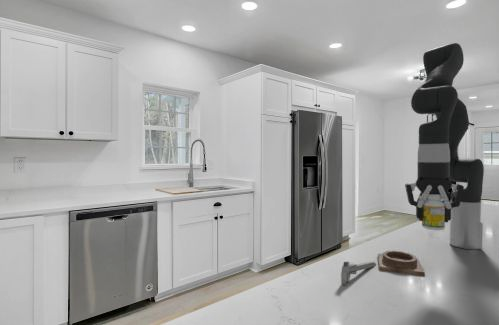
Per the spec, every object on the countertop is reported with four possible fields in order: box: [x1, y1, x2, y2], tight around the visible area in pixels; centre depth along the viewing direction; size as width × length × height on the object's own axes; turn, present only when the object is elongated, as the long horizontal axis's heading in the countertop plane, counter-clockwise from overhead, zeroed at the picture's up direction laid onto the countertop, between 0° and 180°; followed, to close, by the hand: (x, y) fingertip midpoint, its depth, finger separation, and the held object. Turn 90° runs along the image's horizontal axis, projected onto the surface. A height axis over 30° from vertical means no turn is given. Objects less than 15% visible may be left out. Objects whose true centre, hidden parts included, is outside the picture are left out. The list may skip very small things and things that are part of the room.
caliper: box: [340, 260, 377, 286], centre depth 86 cm, size 21×1×6 cm, turn 134°
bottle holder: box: [377, 250, 426, 277], centre depth 92 cm, size 12×12×3 cm
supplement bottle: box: [421, 194, 446, 231], centre depth 80 cm, size 5×5×10 cm
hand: (432, 220), depth 80 cm, fingers closed on supplement bottle, 5 cm apart
